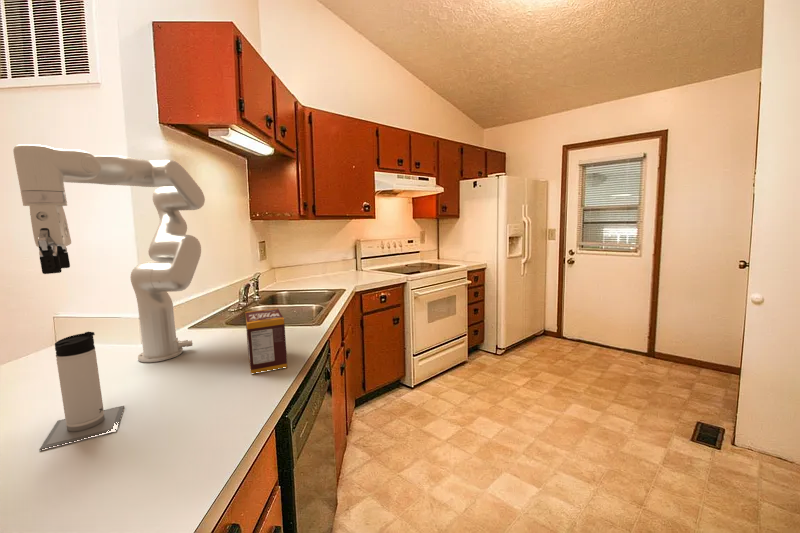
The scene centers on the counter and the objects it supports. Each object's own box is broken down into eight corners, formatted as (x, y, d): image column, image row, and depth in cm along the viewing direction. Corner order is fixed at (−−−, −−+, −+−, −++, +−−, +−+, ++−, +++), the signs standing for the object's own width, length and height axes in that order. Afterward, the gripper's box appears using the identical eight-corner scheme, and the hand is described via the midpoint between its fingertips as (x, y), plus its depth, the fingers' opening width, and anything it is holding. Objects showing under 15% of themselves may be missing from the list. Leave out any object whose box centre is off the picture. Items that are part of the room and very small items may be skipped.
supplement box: (281, 352, 121) (278, 307, 119) (287, 368, 107) (284, 318, 105) (248, 357, 117) (244, 311, 115) (250, 375, 103) (246, 323, 101)
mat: (124, 407, 86) (124, 404, 86) (116, 431, 76) (116, 429, 76) (57, 422, 80) (57, 420, 80) (39, 451, 70) (39, 448, 70)
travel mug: (113, 417, 80) (101, 332, 78) (78, 434, 74) (65, 342, 72) (94, 413, 82) (83, 330, 80) (60, 429, 76) (46, 339, 74)
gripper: (57, 198, 79) (70, 273, 82) (73, 200, 93) (83, 265, 96) (9, 198, 75) (24, 277, 78) (33, 201, 89) (45, 268, 92)
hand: (57, 270), depth 87 cm, fingers open, 9 cm apart
